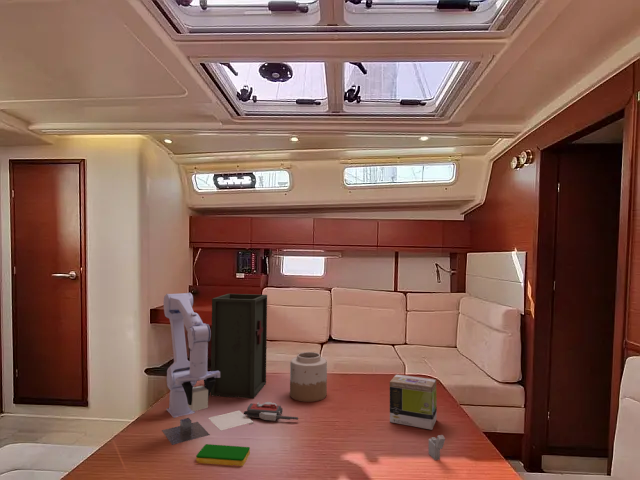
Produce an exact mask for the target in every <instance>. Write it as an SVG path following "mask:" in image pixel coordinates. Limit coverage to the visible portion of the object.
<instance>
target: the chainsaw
mask: <svg viewBox="0 0 640 480" xmlns="http://www.w3.org/2000/svg"><path fill="white" fill-rule="evenodd" d="M246 409H247V410H245V411H243V414H244V415H246V416H247V417H248V418H255V419H256V418H257V419H262V420H265V421H272V422H276V420H286V421H287V420H288V421H291V420H296V421H297V420H298V421H299V417H298V416H297V417H296V416H286V415H285V416H284V415H281V414H282V413H283V407H281V405H278V403H277V402H273V401H272V402H271V401H266V402H263V403H260V402H259V401H258V402H257V403H250V404H249V405H248V406H247V408H246Z"/></svg>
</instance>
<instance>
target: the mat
mask: <svg viewBox="0 0 640 480" xmlns="http://www.w3.org/2000/svg"><path fill="white" fill-rule="evenodd" d="M208 420H209V421H210V422H211V423H212V424H213V425H214V426H215V427H216V428H217V429H218V430H219V431H221V432H222V431H224V430H229V429H231V428H237V427H240V426H244V425H252V424H254V423H255V422H254V421H253V420H252V419H251V418H250V417H248V416H247V415H245V414H244V412H242V411H241V410H236V411H231V412H227V413H224V414H220V415H219V414H218V415H214V416H210V417H208Z"/></svg>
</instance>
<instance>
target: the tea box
mask: <svg viewBox="0 0 640 480" xmlns="http://www.w3.org/2000/svg"><path fill="white" fill-rule="evenodd" d="M437 407H438V406H437V379H435V378H429V377H428V378H427V377H421V376H412V375H404V374H395V375H394V376H393V378H392V379H391V380H390V381H389V422H390V423H393V424H399V425H404V426H409V427H416V428H419V429H420V428H421V429H426V430H432V431H433V430H434V429H433V428H434V426H435V424H436V421H437V419H438V418H437V414H438V413H437V411H438V410H437V409H438V408H437Z"/></svg>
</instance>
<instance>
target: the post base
mask: <svg viewBox="0 0 640 480" xmlns="http://www.w3.org/2000/svg"><path fill="white" fill-rule="evenodd" d="M179 421H180V422H179V423H180V424H179V426H175V427H174V426H173V427H169V428H166V429H162V430H161V432H162V433H163V434H164V436H165V437H166V438H167V440H168V442H170V444H171V446H174V445H177V444H181V443H185V442H189V441H192V440H196V439H200V438H204V437H207V436H211V434H210V433H209V432H208V431H207V430H206V429H205V428H204V427H203V426H202V425H201V423H199V422H198V421H195V422H192V420H191V419H190V417H187V418H182V419H180V420H179Z"/></svg>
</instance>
